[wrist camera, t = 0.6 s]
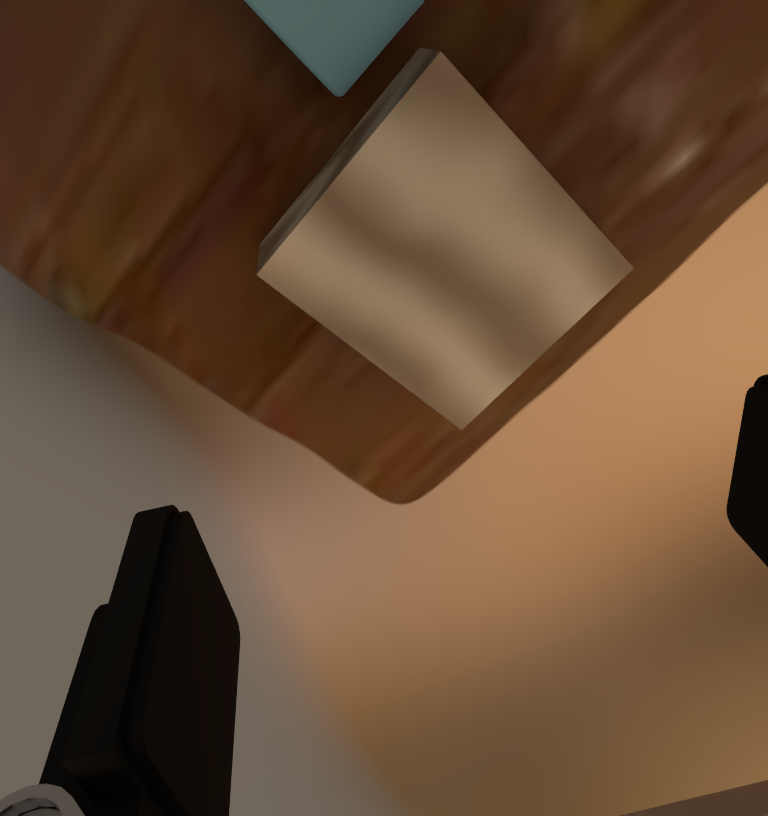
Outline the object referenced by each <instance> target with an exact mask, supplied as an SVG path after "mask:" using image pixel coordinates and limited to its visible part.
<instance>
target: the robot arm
mask: <svg viewBox="0 0 768 816" xmlns="http://www.w3.org/2000/svg"><path fill="white" fill-rule="evenodd" d="M727 516H728V519H729V522H730V524H731V526H732V527H733V528H734V529H735V531H736V532H737V533H738V534H739V535H740V537H741V538H742V539H743V540H744V541H745V542H746V543H747V544H748V545H749V547H750V548H751V549H752V550H753V551H754V552H755V553H756V554H757V556H759V558H760V559H761V560H762V561H763V562H764V563H765V564H766V566H767V567H768V375H763V376H761V377H759V378H758V379H757V380H756V382H755V384H754V387H751V388H749V390H748V391H747V394H746V397H745V403H744V409H743V415H742V421H741V427H740V432H739V438H738V444H737V450H736V456H735V462H734V467H733V473H732V480H731V485H730V491H729V497H728V503H727ZM239 651H240V631H239V625H238V621H237V618H236V616H235V614H234V611H233V609H232V607H231V605H230V602H229V600H228V598H227V595H226V593H225V591H224V588H223V586H222V584H221V582H220V579H219V577H218V575H217V572H216V570H215V568H214V566H213V564H212V561H211V559H210V557H209V554H208V552H207V550H206V547H205V545H204V543H203V541H202V538H201V536H200V534H199V531H198V529H197V527H196V525H195V522H194V520H193V518H192V516H191V514H190V513H189V512H188V511H183V512H179V511H178V509H177V508H176V507H175V506H174V505H169V506H164V507H160V508H155V509H151V510H146V511H141V512H138V513H137V514H136V515H135V517H134V519H133V522H132V525H131V529H130V532H129V536H128V539H127V543H126V546H125V549H124V553H123V556H122V560H121V563H120V566H119V569H118V573H117V576H116V579H115V583H114V586H113V590H112V593H111V596H110V600H109V603H108V604H104V605H100V606H99V607H98V608H97V609H96V610H95V612H94V614H93V617H92V619H91V622H90V625H89V628H88V631H87V634H86V637H85V640H84V644H83V647H82V650H81V653H80V656H79V659H78V663H77V666H76V669H75V672H74V675H73V678H72V681H71V685H70V688H69V691H68V694H67V697H66V701H65V704H64V707H63V710H62V713H61V716H60V719H59V722H58V726H57V729H56V732H55V735H54V738H53V741H52V745H51V748H50V751H49V754H48V757H47V760H46V764H45V767H44V770H43V773H42V776H41V779H40V782H39V785H33V786H27V787H25V788H23V789H20V790H18V791H16V792H14V793H11V794H9V795H7V796H6V797H4V798H3V799H2V800H0V816H229V805H230V790H231V789H230V788H231V775H232V774H231V773H232V759H233V744H234V728H235V727H234V726H235V713H236V696H237V681H238V666H239ZM620 816H768V780H766V781H762V782H758V783H754V784H750V785H745V786H741V787H737V788H733V789H729V790H724V791H720V792H716V793H712V794H708V795H704V796H699V797H695V798H691V799H687V800H683V801H678V802H674V803H670V804H666V805H662V806H658V807H654V808H649V809H645V810H642V811H637V812H633V813H629V814H625V815H620Z"/></svg>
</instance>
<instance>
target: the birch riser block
mask: <svg viewBox="0 0 768 816" xmlns="http://www.w3.org/2000/svg"><path fill="white" fill-rule="evenodd" d="M633 269H634V268H633V267H632V266H631V265H630V264H629V262H628V261H627V260H626V259H625V258H624V257H623V256H622V255H621V253H620V252H619V251H618V250H617V249H616V248H615V247H614V246H613V244H612V243H611V242H610V241H609V240H608V239H607V238H606V237H605V235H604V234H603V233H602V232H601V231H600V230H599V229H598V228H597V226H596V225H595V224H594V223H593V222H592V221H591V220H590V219H589V217H588V216H587V215H586V214H585V213H584V212H583V211H582V210H581V208H580V207H579V206H578V205H577V204H576V203H575V202H574V201H573V199H572V198H571V197H570V196H569V195H568V194H567V193H566V192H565V190H564V189H563V188H562V187H561V186H560V185H559V184H558V183H557V181H556V180H555V179H554V178H553V177H552V176H551V175H550V174H549V172H548V171H547V170H546V169H545V168H544V167H543V166H542V165H541V163H540V162H539V161H538V160H537V159H536V158H535V157H534V156H533V154H532V153H531V152H530V151H529V150H528V149H527V148H526V147H525V145H524V144H523V143H522V142H521V141H520V140H519V139H518V138H517V136H516V135H515V134H514V133H513V132H512V131H511V130H510V129H509V128H508V126H507V125H506V124H505V123H504V122H503V121H502V120H501V119H500V117H499V116H498V115H497V114H496V113H495V112H494V111H493V110H492V108H491V107H490V106H489V105H488V104H487V103H486V102H485V101H484V99H483V98H482V97H481V96H480V95H479V94H478V93H477V92H476V90H475V89H474V88H473V87H472V86H471V85H470V84H469V83H468V81H467V80H466V79H465V78H464V77H463V76H462V75H461V74H460V72H459V71H458V70H457V69H456V68H455V67H454V66H453V65H452V63H451V62H450V61H449V60H448V59H447V58H446V57H445V56H444V54H443V53H442V52H441V51H436V50H431V49H425V48H420V47H419V48H418V50H417V51H416V52H415V53H414V55H413V56H412V57H411V58H410V59H409V61H408V62H407V63H406V64H405V66H404V67H403V68H402V69H401V71H400V72H399V73H398V74H397V76H396V77H395V78H394V79H393V80H392V82H391V83H390V84H389V85H388V87H387V88H386V89H385V90H384V92H383V93H382V94H381V95H380V97H379V98H378V99H377V100H376V101H375V103H374V104H373V105H372V106H371V108H370V109H369V110H368V111H367V113H366V114H365V115H364V116H363V118H362V119H361V120H360V121H359V122H358V124H357V125H356V126H355V127H354V129H353V130H352V131H351V132H350V134H349V135H348V136H347V137H346V139H345V140H344V141H343V142H342V143H341V145H340V146H339V147H338V148H337V150H336V151H335V152H334V153H333V155H332V156H331V157H330V158H329V160H328V161H327V162H326V163H325V164H324V166H323V167H322V168H321V169H320V171H319V172H318V173H317V174H316V176H315V177H314V178H313V179H312V181H311V182H310V183H309V184H308V185H307V187H306V188H305V189H304V190H303V192H302V193H301V194H300V195H299V197H298V198H297V199H296V200H295V202H294V203H293V204H292V205H291V206H290V208H289V209H288V210H287V211H286V213H285V214H284V215H283V216H282V218H281V219H280V220H279V221H278V223H277V224H276V225H275V226H274V227H273V229H272V230H271V231H270V232H269V234H268V235H267V236H266V237H265V239H264V240H263V241H262V242H261V244H260V245H259V255H258V265H257V276H259V277H260V278H261V279H262V280H264V281H265V282H266V283H268V284H269V285H270V286H272V287H273V288H274V289H276V290H277V291H278V292H280V293H281V294H282V295H284V296H285V297H286V298H288V299H289V300H290V301H292V302H293V303H294V304H296V305H297V306H298V307H299V308H301V309H302V310H303V311H305V312H306V313H307V314H309V315H310V316H311V317H313V318H314V319H315V320H317V321H318V322H319V323H321V324H322V325H323V326H325V327H326V328H327V329H329V330H330V331H331V332H333V333H334V334H335V335H337V336H338V337H339V338H340V339H342V340H343V341H344V342H346V343H347V344H348V345H350V346H351V347H352V348H354V349H355V350H356V351H358V352H359V353H360V354H362V355H363V356H364V357H366V358H367V359H368V360H370V361H371V362H372V363H374V364H375V365H376V366H378V367H379V368H380V369H381V370H383V371H384V372H385V373H387V374H388V375H389V376H391V377H392V378H393V379H395V380H396V381H397V382H399V383H400V384H401V385H403V386H404V387H405V388H407V389H408V390H409V391H411V392H412V393H413V394H415V395H416V396H417V397H418V398H420V399H421V400H422V401H424V402H425V403H426V404H428V405H429V406H430V407H432V408H433V409H434V410H436V411H437V412H438V413H440V414H441V415H442V416H444V417H445V418H446V419H448V420H449V421H450V422H452V423H453V424H454V425H456V426H457V427H458V428H459V429H461V430H462V429H463V428H464V427H466V426H467V425H468V424H469V423H470V422H471V421H472V420H473V419H474V418H475V417H476V416H477V415H478V414H479V413H480V412H482V411H483V410H484V409H485V408H486V407H487V406H488V405H489V404H490V403H491V402H492V401H493V400H494V399H495V398H496V397H497V396H499V395H500V394H501V393H502V392H503V391H504V390H505V389H506V388H507V387H508V386H509V385H510V384H511V383H512V382H513V381H515V380H516V379H517V378H518V377H519V376H520V375H521V374H522V373H523V372H524V371H525V370H526V369H527V368H528V367H529V366H531V365H532V364H533V363H534V362H535V361H536V360H537V359H538V358H539V357H540V356H541V355H542V354H543V353H544V352H545V351H546V350H548V349H549V348H550V347H551V346H552V345H553V344H554V343H555V342H556V341H557V340H558V339H559V338H560V337H561V336H562V335H564V334H565V333H566V332H567V331H568V330H569V329H570V328H571V327H572V326H573V325H574V324H575V323H576V322H577V321H578V320H580V319H581V318H582V317H583V316H584V315H585V314H586V313H587V312H588V311H589V310H590V309H591V308H592V307H593V306H594V305H596V304H597V303H598V302H599V301H600V300H601V299H602V298H603V297H604V296H605V295H606V294H607V293H608V292H609V291H610V290H611V289H613V288H614V287H615V286H616V285H617V284H618V283H619V282H620V281H621V280H622V279H623V278H624V277H625V276H626V275H627V274H629V273H630V272H631V271H632V270H633Z"/></svg>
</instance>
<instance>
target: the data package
mask: <svg viewBox="0 0 768 816" xmlns="http://www.w3.org/2000/svg"><path fill="white" fill-rule="evenodd" d="M244 1H245V2H246V3H247V4H248V5H249V6H250V7H251V8H252V10H253V11H254V12H255V13H256V14H257V15H258V16H259V17H260V18H261V19H262V20H263V21H264V22H265V23H266V24H267V25H268V26H269V27H270V29H271V30H272V31H273V32H274V33H275V34H276V35H277V36H278V37H279V38H280V39H281V40H282V41H283V42H284V43H285V44H286V45H287V46H288V48H289V49H290V50H291V51H292V52H293V53H294V54H295V55H296V56H297V57H298V58H299V59H300V60H301V61H302V62H303V63H304V64H305V66H306V67H307V68H308V69H309V70H310V71H311V72H312V73H313V74H314V75H315V76H316V77H317V78H318V79H319V80H320V81H321V82H322V83H323V84H324V85H325V86H326V87H327V88H328V89H329V90H330V91H331V92H332V93H333V94H334V95H335V96H338V97H340V96H343V95H344V94H345V93H346V92H347V91H348V90H349V88H350V87H351V86H352V85H353V84H354V83H355V81H356V80H357V79H358V78H359V77H360V76H361V74H362V73H363V72H364V71H365V70H366V69H367V67H368V66H369V65H370V64H371V63H372V62H373V61H374V59H375V58H376V57H377V56H378V55H379V54H380V52H381V51H382V50H383V49H384V48H385V47H386V45H387V44H388V43H389V42H390V41H391V40H392V38H393V37H394V36H395V35H396V34H397V33H398V31H399V30H400V29H401V28H402V27H403V26H404V24H405V23H406V22H407V21H408V20H409V19H410V17H411V16H412V15H413V14H414V13H415V12H416V10H417V9H418V8H419V7H420V6H421V5H422V3H423V2H424V1H425V0H244Z"/></svg>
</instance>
